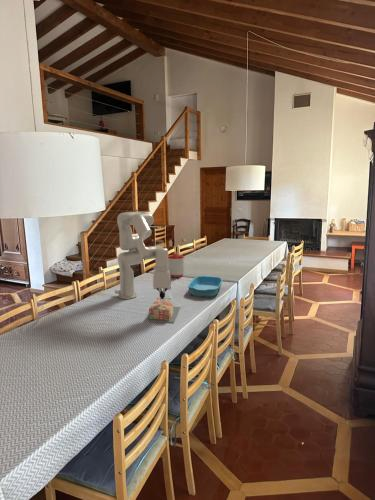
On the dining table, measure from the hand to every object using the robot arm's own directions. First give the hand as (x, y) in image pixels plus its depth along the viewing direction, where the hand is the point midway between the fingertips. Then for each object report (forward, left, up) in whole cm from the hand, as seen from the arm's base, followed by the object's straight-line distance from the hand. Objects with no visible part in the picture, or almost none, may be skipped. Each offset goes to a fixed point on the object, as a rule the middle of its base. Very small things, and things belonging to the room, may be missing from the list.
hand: (162, 298), depth 218 cm
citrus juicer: (-7, +90, -10) cm, 91 cm away
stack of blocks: (-6, 0, -6) cm, 9 cm away
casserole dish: (+22, +51, -11) cm, 57 cm away
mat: (+2, 0, -10) cm, 10 cm away
